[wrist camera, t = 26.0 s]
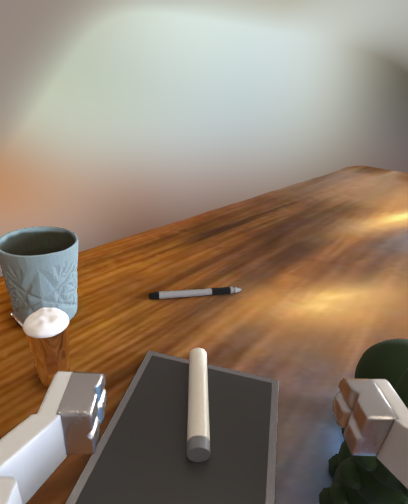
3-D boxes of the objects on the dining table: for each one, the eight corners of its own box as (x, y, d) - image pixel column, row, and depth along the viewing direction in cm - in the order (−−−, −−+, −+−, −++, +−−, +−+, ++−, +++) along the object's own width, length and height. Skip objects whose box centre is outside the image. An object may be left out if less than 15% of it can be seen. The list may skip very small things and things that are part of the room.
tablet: (266, 683, 21) (269, 678, 20) (22, 591, 23) (20, 585, 23) (277, 384, 42) (279, 379, 41) (148, 354, 45) (148, 349, 44)
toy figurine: (393, 639, 24) (444, 400, 41) (528, 513, 14) (522, 270, 31) (275, 535, 29) (364, 361, 46) (318, 391, 19) (410, 238, 36)
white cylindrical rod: (215, 455, 31) (210, 354, 43) (198, 444, 30) (198, 344, 42) (198, 465, 32) (198, 363, 43) (181, 455, 31) (185, 354, 43)
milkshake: (26, 369, 41) (12, 300, 36) (73, 359, 43) (65, 293, 38) (25, 398, 37) (9, 326, 33) (76, 386, 39) (68, 316, 35)
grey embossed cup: (-6, 319, 48) (-24, 244, 43) (48, 286, 57) (38, 220, 52) (49, 342, 45) (37, 263, 40) (98, 303, 54) (93, 235, 48)
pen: (148, 297, 57) (148, 290, 56) (240, 290, 61) (241, 284, 60) (149, 301, 55) (149, 295, 55) (243, 294, 60) (244, 288, 59)
